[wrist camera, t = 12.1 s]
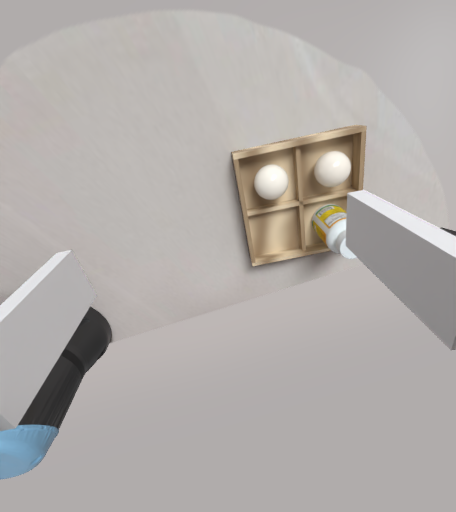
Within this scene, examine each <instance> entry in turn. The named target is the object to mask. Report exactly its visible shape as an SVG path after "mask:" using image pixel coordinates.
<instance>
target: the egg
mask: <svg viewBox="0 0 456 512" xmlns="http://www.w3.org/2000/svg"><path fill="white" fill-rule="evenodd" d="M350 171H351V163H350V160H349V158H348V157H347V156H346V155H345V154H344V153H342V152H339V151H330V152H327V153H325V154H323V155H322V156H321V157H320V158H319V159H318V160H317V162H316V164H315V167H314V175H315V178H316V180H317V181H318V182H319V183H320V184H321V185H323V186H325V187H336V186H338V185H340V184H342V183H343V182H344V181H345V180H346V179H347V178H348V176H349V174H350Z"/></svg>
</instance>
